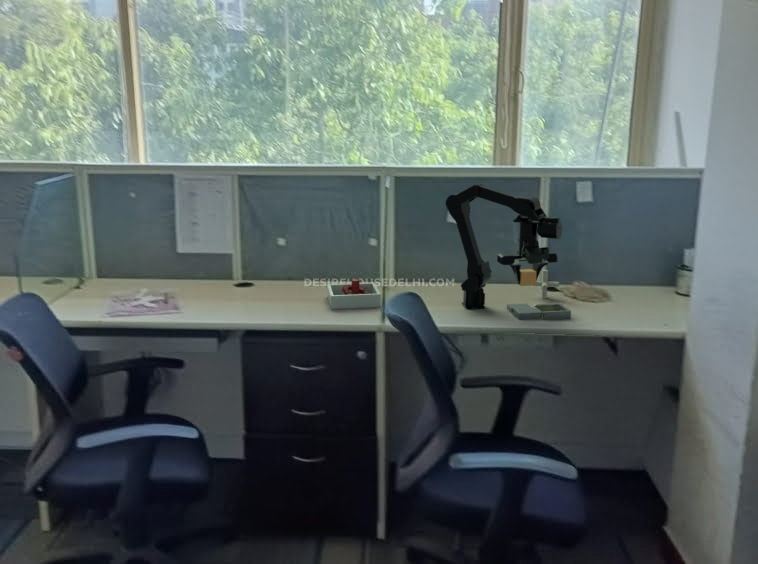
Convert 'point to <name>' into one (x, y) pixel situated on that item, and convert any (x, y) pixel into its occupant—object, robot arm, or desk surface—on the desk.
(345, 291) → the red branched piece
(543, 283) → the pipe connector
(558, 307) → the sliding lid box
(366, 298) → the gear corral
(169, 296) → the desk surface
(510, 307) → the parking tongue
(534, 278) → the block
